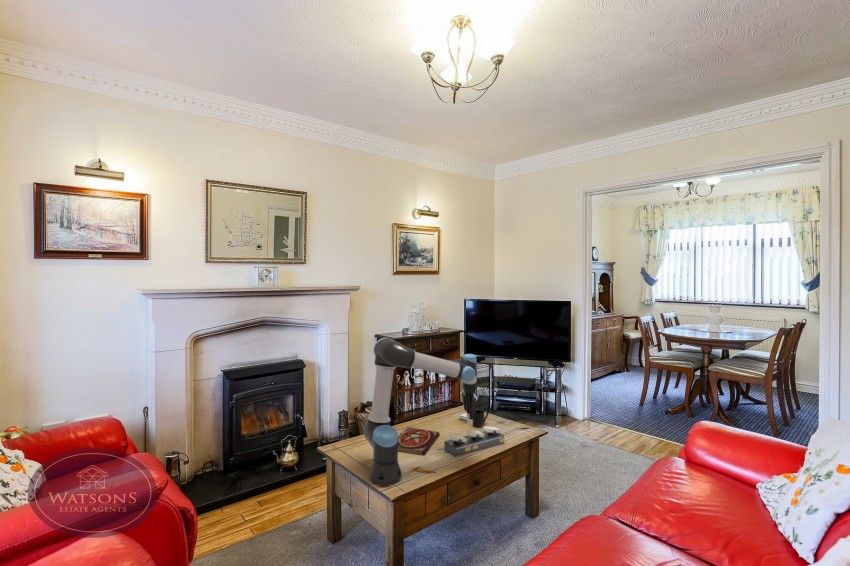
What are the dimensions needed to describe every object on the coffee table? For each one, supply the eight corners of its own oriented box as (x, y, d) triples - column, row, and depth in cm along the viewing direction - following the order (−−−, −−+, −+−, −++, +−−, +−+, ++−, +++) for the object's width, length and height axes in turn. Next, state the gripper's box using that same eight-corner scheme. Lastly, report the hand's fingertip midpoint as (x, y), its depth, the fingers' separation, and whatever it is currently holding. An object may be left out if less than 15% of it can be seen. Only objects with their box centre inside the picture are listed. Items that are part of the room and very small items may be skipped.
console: (454, 457, 224) (455, 447, 224) (444, 449, 233) (444, 441, 233) (504, 443, 241) (504, 435, 241) (493, 437, 250) (493, 429, 250)
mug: (491, 426, 267) (491, 411, 267) (475, 429, 262) (475, 414, 262) (484, 422, 275) (484, 407, 274) (468, 425, 270) (468, 410, 269)
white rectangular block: (470, 439, 232) (472, 433, 232) (465, 435, 237) (466, 430, 237) (483, 439, 237) (484, 434, 237) (477, 436, 241) (478, 431, 241)
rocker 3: (488, 434, 238) (489, 429, 238) (482, 431, 243) (483, 426, 243) (499, 435, 243) (501, 430, 243) (494, 432, 247) (495, 427, 247)
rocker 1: (452, 442, 226) (454, 436, 226) (447, 439, 231) (449, 433, 231) (465, 445, 230) (467, 439, 231) (460, 441, 235) (461, 436, 235)
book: (424, 457, 226) (424, 448, 226) (388, 451, 232) (388, 442, 232) (439, 437, 253) (439, 429, 252) (406, 431, 259) (406, 423, 259)
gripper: (482, 384, 230) (482, 426, 231) (468, 378, 241) (468, 419, 242) (471, 386, 226) (471, 429, 227) (457, 380, 237) (457, 421, 238)
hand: (469, 424), depth 235 cm, fingers closed
